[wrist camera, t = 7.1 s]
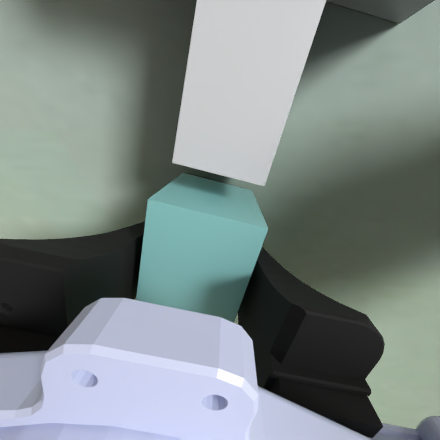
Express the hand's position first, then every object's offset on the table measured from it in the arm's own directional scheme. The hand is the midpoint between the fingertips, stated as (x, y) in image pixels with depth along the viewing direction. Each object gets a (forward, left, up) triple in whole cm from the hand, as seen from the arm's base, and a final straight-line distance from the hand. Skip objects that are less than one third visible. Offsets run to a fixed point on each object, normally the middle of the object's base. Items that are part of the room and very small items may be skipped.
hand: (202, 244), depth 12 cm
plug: (0, -5, -1) cm, 5 cm away
